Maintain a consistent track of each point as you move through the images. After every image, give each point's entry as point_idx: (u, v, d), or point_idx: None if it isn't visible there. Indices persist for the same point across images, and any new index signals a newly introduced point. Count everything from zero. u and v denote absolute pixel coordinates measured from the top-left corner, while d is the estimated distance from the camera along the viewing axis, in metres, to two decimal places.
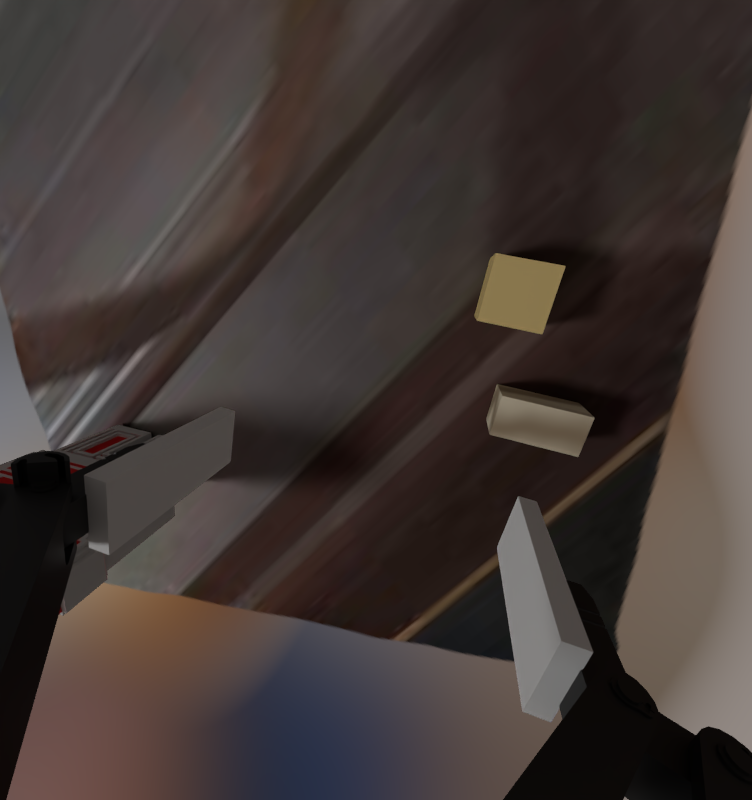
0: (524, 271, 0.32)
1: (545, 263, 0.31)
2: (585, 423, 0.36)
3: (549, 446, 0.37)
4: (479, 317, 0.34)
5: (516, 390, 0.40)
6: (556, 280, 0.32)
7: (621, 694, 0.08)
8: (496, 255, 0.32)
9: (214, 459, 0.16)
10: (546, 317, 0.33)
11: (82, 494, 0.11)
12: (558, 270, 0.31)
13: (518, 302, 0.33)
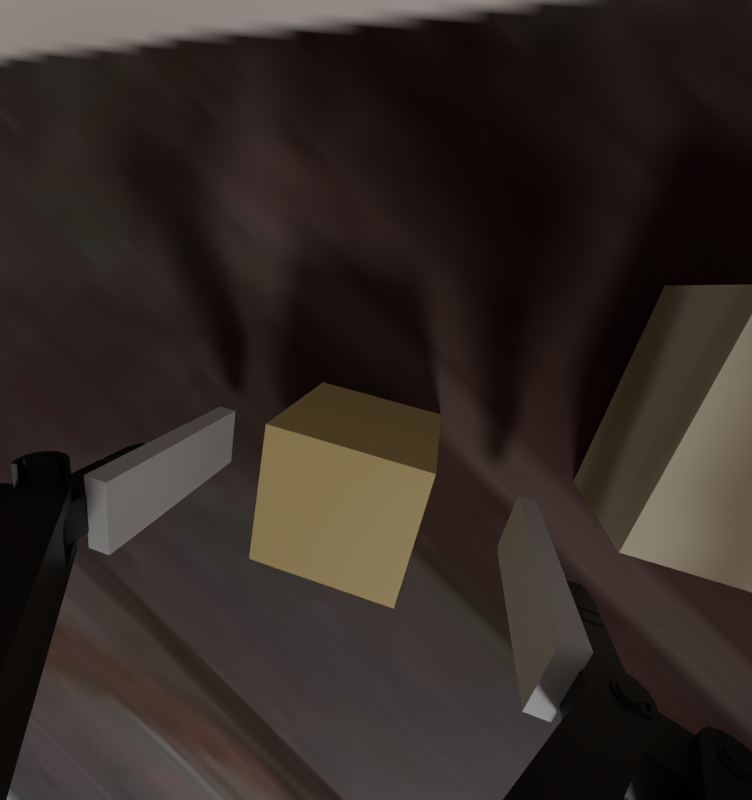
0: (281, 508, 0.13)
1: (263, 466, 0.13)
2: None
3: None
4: (386, 603, 0.14)
5: (599, 452, 0.15)
6: (299, 443, 0.12)
7: (621, 694, 0.08)
8: (253, 557, 0.14)
9: (214, 459, 0.16)
10: (389, 464, 0.12)
11: (82, 494, 0.11)
12: (276, 439, 0.13)
13: (352, 523, 0.13)
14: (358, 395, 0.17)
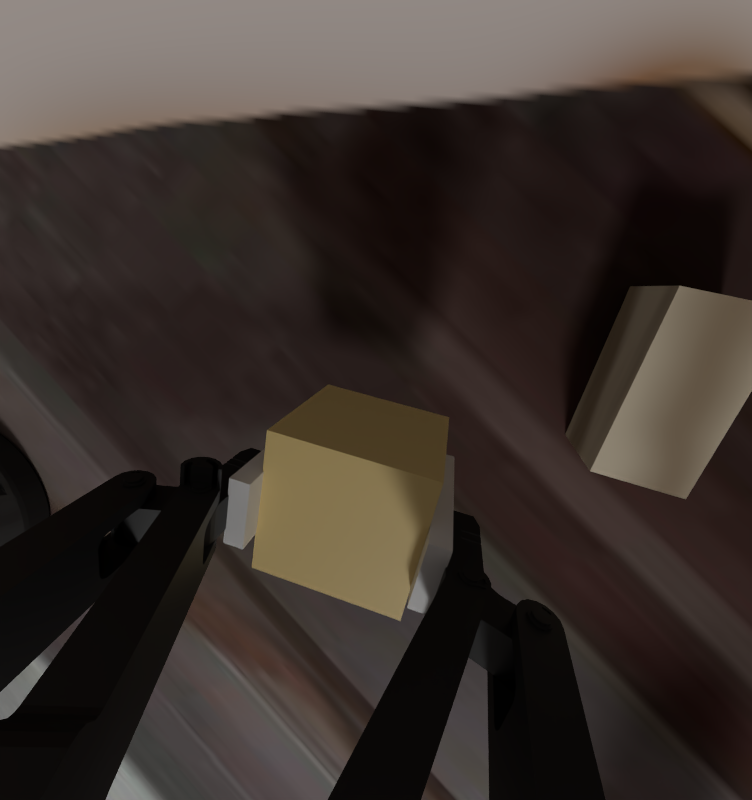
0: (283, 516, 0.13)
1: (264, 473, 0.13)
2: (692, 304, 0.15)
3: (748, 379, 0.15)
4: (392, 615, 0.13)
5: (583, 409, 0.21)
6: (301, 450, 0.12)
7: (465, 579, 0.10)
8: (256, 566, 0.14)
9: None
10: (395, 472, 0.11)
11: (225, 495, 0.12)
12: (278, 445, 0.12)
13: (356, 533, 0.12)
14: (363, 398, 0.17)
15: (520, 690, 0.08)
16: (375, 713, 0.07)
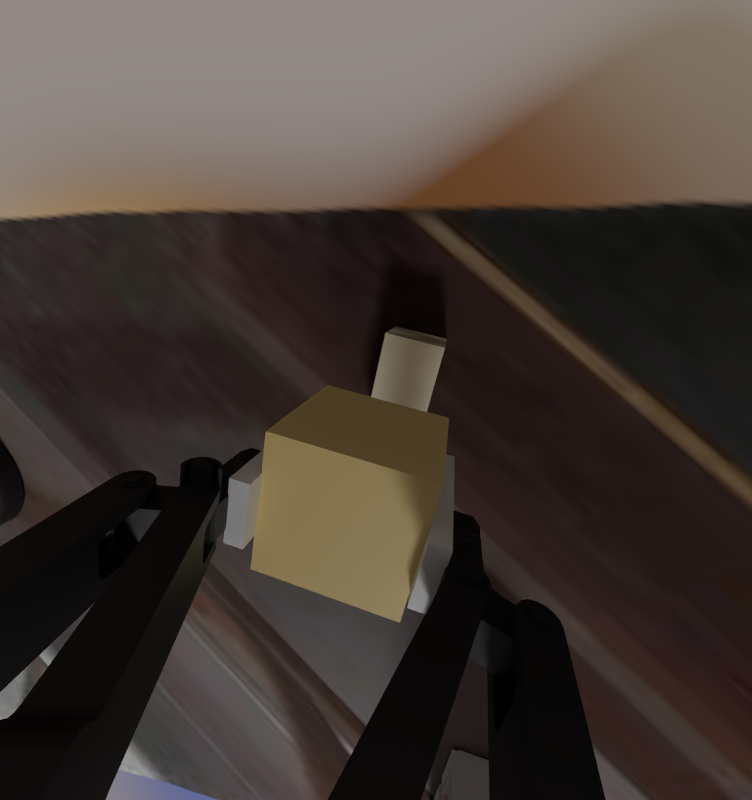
0: (282, 518, 0.13)
1: (263, 475, 0.12)
2: (394, 343, 0.26)
3: (429, 385, 0.27)
4: (392, 617, 0.13)
5: None
6: (300, 451, 0.12)
7: (465, 579, 0.10)
8: (255, 568, 0.14)
9: None
10: (394, 473, 0.11)
11: (225, 495, 0.12)
12: (277, 447, 0.12)
13: (355, 534, 0.12)
14: (363, 399, 0.17)
15: (520, 690, 0.08)
16: (375, 713, 0.07)
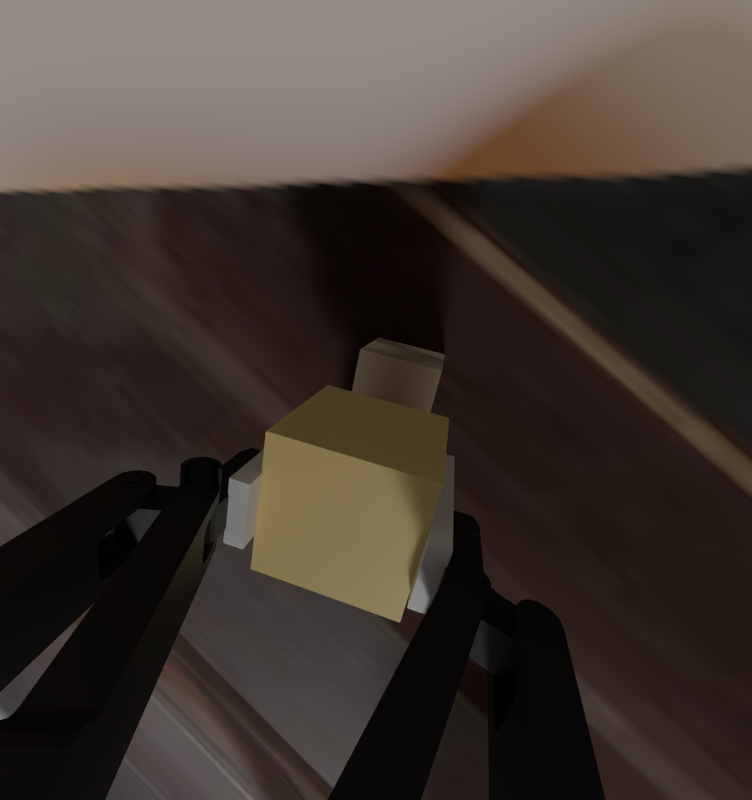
0: (282, 517, 0.13)
1: (263, 474, 0.12)
2: (372, 363, 0.19)
3: None
4: (392, 617, 0.13)
5: None
6: (300, 451, 0.12)
7: (465, 579, 0.10)
8: (255, 567, 0.14)
9: None
10: (394, 473, 0.11)
11: (225, 495, 0.12)
12: (277, 446, 0.12)
13: (355, 534, 0.12)
14: (363, 399, 0.17)
15: (520, 690, 0.08)
16: (375, 713, 0.07)
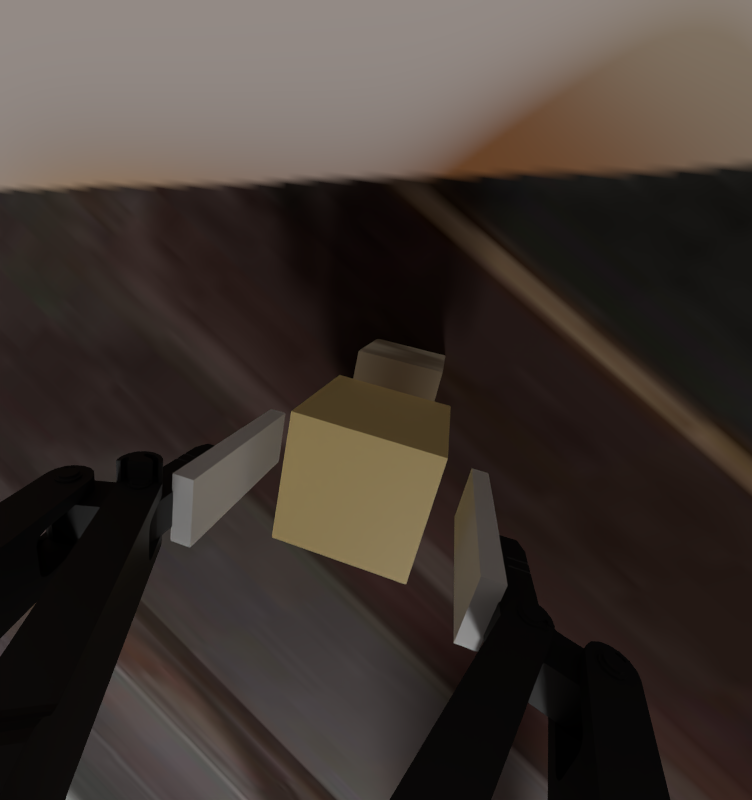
0: (303, 489, 0.14)
1: (287, 450, 0.14)
2: (370, 365, 0.19)
3: None
4: (399, 579, 0.15)
5: None
6: (321, 429, 0.13)
7: (525, 617, 0.09)
8: (276, 536, 0.15)
9: (267, 459, 0.17)
10: (405, 449, 0.13)
11: (169, 491, 0.12)
12: (300, 425, 0.14)
13: (368, 504, 0.14)
14: (372, 388, 0.18)
15: (588, 740, 0.07)
16: (421, 750, 0.06)
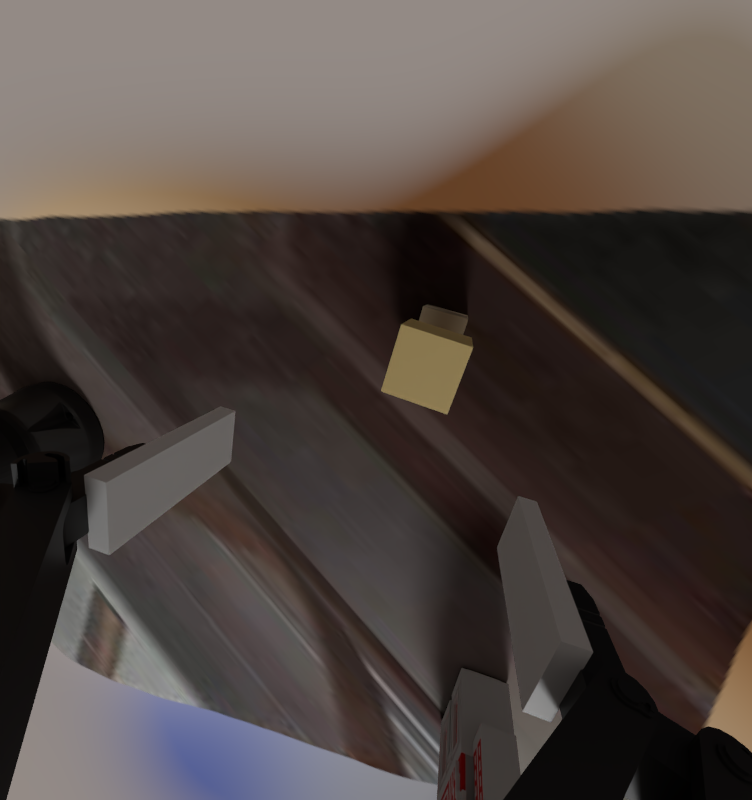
0: (401, 364, 0.30)
1: (396, 344, 0.30)
2: (429, 314, 0.34)
3: None
4: (444, 411, 0.30)
5: None
6: (415, 333, 0.29)
7: (621, 694, 0.08)
8: (383, 390, 0.31)
9: (214, 459, 0.16)
10: (453, 343, 0.29)
11: (82, 494, 0.11)
12: (405, 331, 0.29)
13: (433, 371, 0.30)
14: (430, 325, 0.34)
15: None
16: None
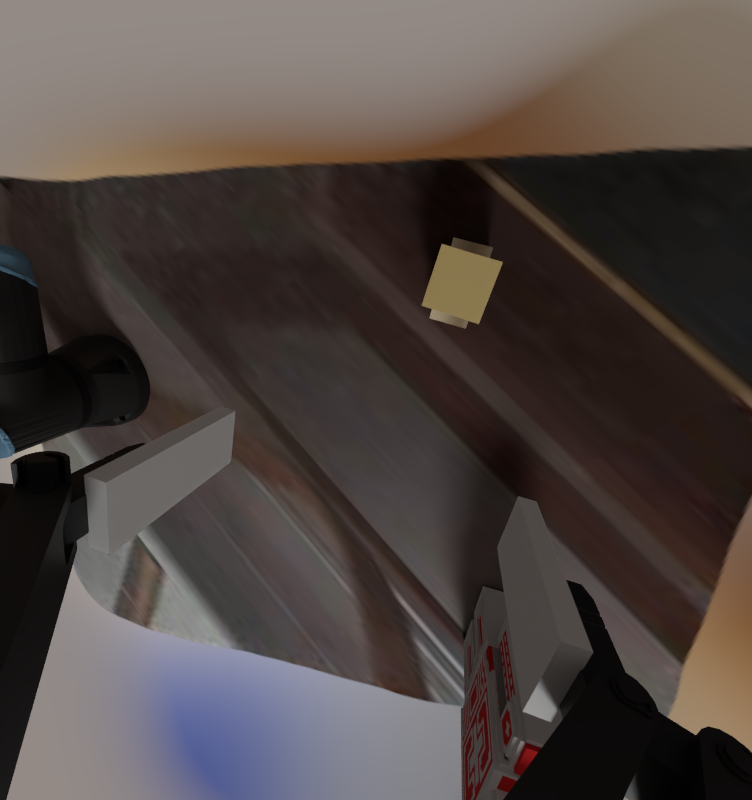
0: (440, 280, 0.35)
1: (436, 262, 0.35)
2: (458, 244, 0.40)
3: None
4: (476, 321, 0.36)
5: None
6: (453, 251, 0.34)
7: (621, 694, 0.08)
8: (423, 305, 0.36)
9: (214, 459, 0.16)
10: (486, 259, 0.34)
11: (82, 494, 0.11)
12: (444, 250, 0.35)
13: (467, 285, 0.35)
14: None
15: None
16: None
